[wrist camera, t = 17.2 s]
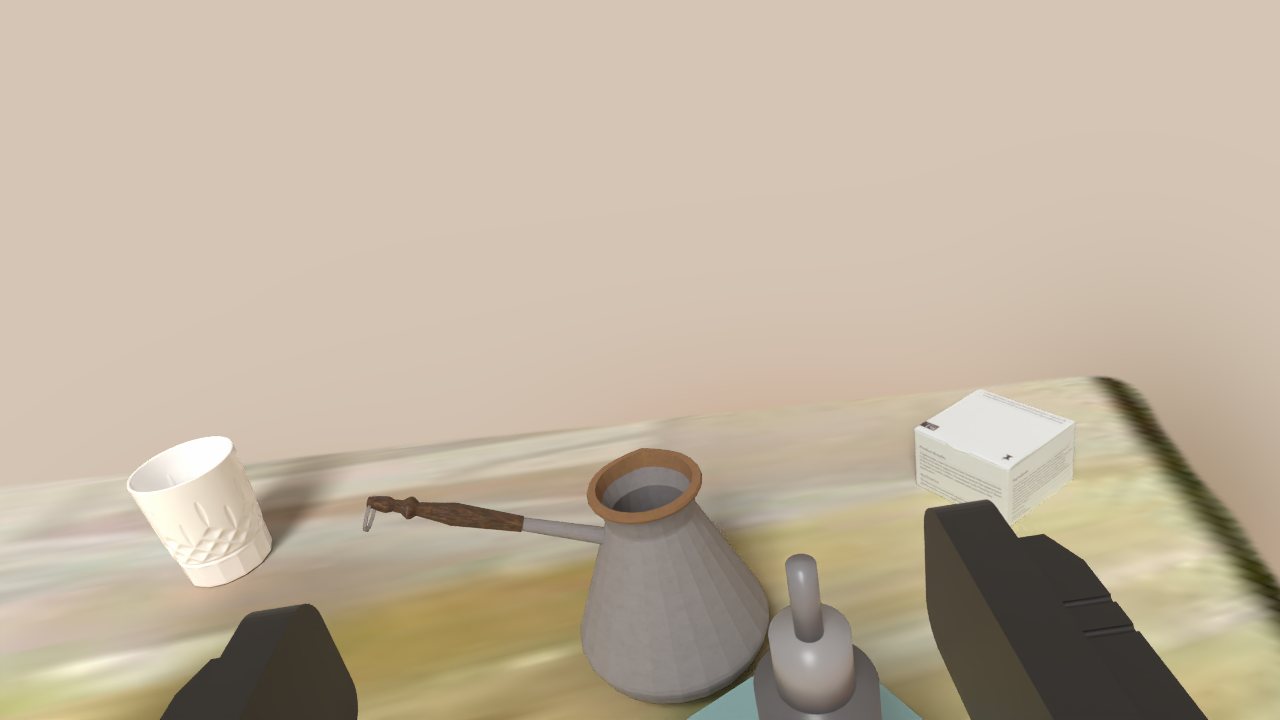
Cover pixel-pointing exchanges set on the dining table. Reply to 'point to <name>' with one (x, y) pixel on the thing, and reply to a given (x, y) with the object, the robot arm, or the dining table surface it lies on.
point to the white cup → (203, 510)
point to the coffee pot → (646, 578)
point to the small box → (995, 453)
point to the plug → (813, 659)
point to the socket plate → (738, 712)
